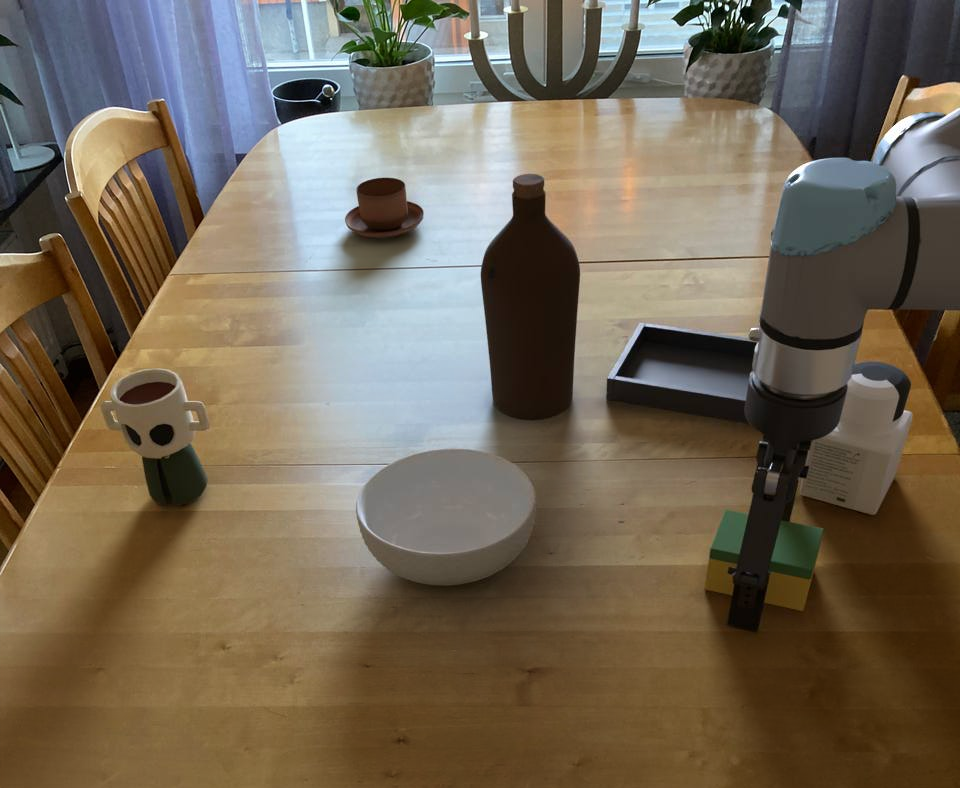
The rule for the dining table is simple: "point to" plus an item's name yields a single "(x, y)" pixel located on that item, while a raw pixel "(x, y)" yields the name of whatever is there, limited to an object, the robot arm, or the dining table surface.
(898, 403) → the container
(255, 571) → the dining table surface
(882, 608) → the dining table surface
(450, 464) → the cereal bowl
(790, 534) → the sponge
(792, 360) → the robot arm
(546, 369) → the olive oil
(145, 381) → the character mug
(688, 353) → the tray
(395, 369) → the dining table surface
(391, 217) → the cup and saucer
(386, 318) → the dining table surface
